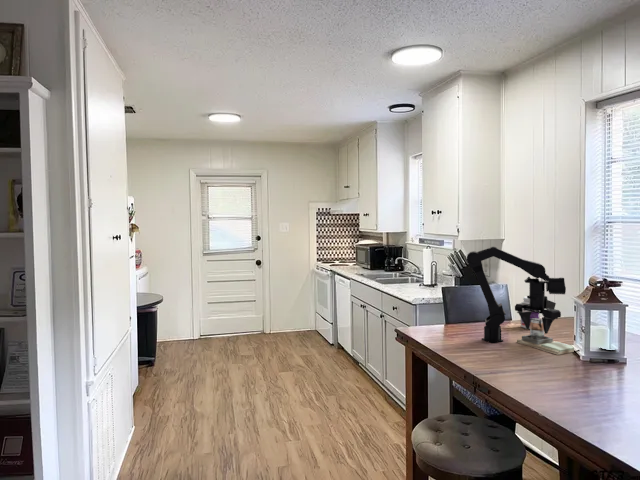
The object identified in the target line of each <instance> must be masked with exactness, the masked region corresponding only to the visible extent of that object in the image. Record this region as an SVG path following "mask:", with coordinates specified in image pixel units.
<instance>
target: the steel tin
mask: <svg viewBox="0 0 640 480" xmlns="http://www.w3.org/2000/svg"><path fill="white" fill-rule="evenodd" d="M529 333H530V334H529V335H530V338H532V339H535V340H542V339H544V336H545V332H544V328H543V322H542V318H540V317H539V318H531V319H530V329H529Z"/></svg>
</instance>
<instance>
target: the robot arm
mask: <svg viewBox="0 0 640 480" xmlns="http://www.w3.org/2000/svg"><path fill="white" fill-rule="evenodd" d="M493 257H494V258H497V259H499V260H501V261H503V262H505V263H508V264H510V265H513V266H515V267H516V268H520V269H522V270H523V271H524V272H525V273H527V274H529V275H530V276H532V277H533V278H531V277H530V276H528V277H526V279H524V282H525V283H526V284H528V285H529V295H526V297H527V298H529V304H526V303H522V302H521V303H516V304H515V305H514V311H516V313H517V314H518V315H519V317H520V319H521V318H522V320H523V322H524V324H525V326H526V328H527V329H526V328H525V329H526V330H530V329H529V327H530V315H531V313H532V312H536V313H539V314H541V315H542V316H543V317H541V319H542V322H543V328H544V335H546V334H548V333H549V330H550V328H551V326H552V323H553V322H554V321H555V320H558V319H559V318H561V317H562V313H561V312H562V311H561V310H560V309H555V308H556V305H557V303H556V302H555V301H554V302H553V300H552V301H551V300H550V299H549V300H548V296H546V295H545V294H546V293H545V292H548V294H549V295H566V291H567V290H566V288H567V287H566V281H565V278H564V277H550V276H549V275H548V274H547V273H546V268H545V266H544V265H543V264H541V263H539V262H536V261H531V260H529V259H528V260H526V259H523V258H520V257H518V256H516V255H514V254H512V253H509V252H506V251H505V250H502V249H500V248H498V247H496V246H490V247H488V248H486V249H482V250H479V251H475V250H472V251H469V253H468V254H467V255H466V263H467V264H468V265H469V267H470V268H471V271H472V272H473V274H474V275H475V276H476V279H477V281H478V284H479V286H480V290H481V292H482V294H483V297H484V300H485V301H486V304H487V307H488V313H489V315H488V316H487V317H486V318H484V321H485V322H484V324H485V325H484V326H483V330H484V331H483V337H482V338H481V340H482V341H485V342H488V343H491V344H493V343H494V344H495V343H501V342H504V339H502V327H501V325H502V324H503V323H504V322H505V320H506V315H507V314H506V311H505V310H504V308H503V304H502V303H501V302H500V303H498V301H497V300H496V298H495V295H494V293H493V290H492V288H491V285H490V284H489V281H488V278H487V276H486V273H485V270H484V268H483V263H482V261H485V260H487V259H490V258H493ZM541 279H542V280H541Z"/></svg>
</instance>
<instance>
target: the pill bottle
mask: <svg viewBox="0 0 640 480" xmlns="http://www.w3.org/2000/svg"><path fill="white" fill-rule="evenodd" d="M521 303H526V304H529V298H527V296H523V298H522V302H521ZM531 318H539V319H540V313H536V312H532V313H531V315H530V319H531ZM520 326H521V328H523V329H526V330H530V327H529V329H527V328H526V326H525V324H524V322H523V320H522V318H521V317H520Z"/></svg>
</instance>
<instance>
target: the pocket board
mask: <svg viewBox="0 0 640 480" xmlns="http://www.w3.org/2000/svg"><path fill="white" fill-rule="evenodd" d="M553 339H554V338H553V337H548V336H546V335H544V339H542V340H535V339H532V338H530V334H527V335H522V336H521V339H517V340H516V343H518V344H521V345H524V346H527V347H531V348H535V349H537V350H540V351H544V352H547V353H551V354H554V355H557V356H559V355H563V354H569V353H575V352H574V347H573V346H574V345H571V344H567V343H564V342H560V341H555V340H553Z"/></svg>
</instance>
